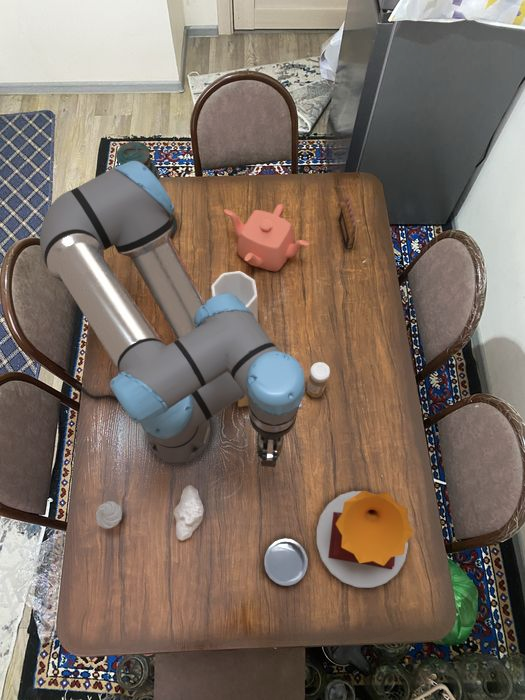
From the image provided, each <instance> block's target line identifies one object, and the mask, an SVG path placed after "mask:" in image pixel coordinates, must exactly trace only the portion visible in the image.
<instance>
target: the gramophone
mask: <svg viewBox="0 0 525 700" xmlns="http://www.w3.org/2000/svg"><path fill="white" fill-rule="evenodd" d="M413 534H414V530H413V529H412V527H411V525H410V522H409V521H408V507H406V506H404V505H402V504H399V503H398V502H396V501H395V500H394V498H393V496H392V495H391V493H390V492H389V491H387V492H381V493H376V494H375V493H372V492H370V491H367V490H366V489H363V490H361V491H360V490H352V491H349V492H346V493H342V494H340V495H338V496H337V497H335V498H334V499H332V500H331V501H330V502H329V503H328V504H327V505H326V506H325V507H324V509H323V511H322V512H321V513H320V515H319V518H318V521H317V524H316V528H315V546H316V548H317V549H316V550H317V552H318V555H319V558H320V560H321V562H322V563H323V565H324V566H325V568H326V569H327V571H328V572H329V574H331V575H332V576H333V577H335V578H336V579H337V580H338V581H339V582H341V583H344V584H346V585H349V586H352V587H354V588H361V589H362V588H364V589H365V588H366V589H367V588H369V589H370V588H371V589H372V588H375V587H378V586H382V585H384V584H387V583H388V582H389V581H390V580H392V579H393V578H394V577H395V576H396V575H398V573H399V572H400V570H401V569H402V567H403V565H404V563H405V562H406V558H407V554H408V550H409V543H408V542H409V539H410V538H411V536H412V535H413Z"/></svg>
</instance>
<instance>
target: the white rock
mask: <svg viewBox="0 0 525 700" xmlns="http://www.w3.org/2000/svg"><path fill="white" fill-rule="evenodd" d="M179 500H180V501H179V502H178V504H177V505H176V506H175V508H174V510H173V516H174V518H175V523H176V525H175V537H176V538H177V540H179V541H185V540H187V539H189V538H191V537H192V536H193V532H195V531H196V530H197V529H198V528H199V526H200V524H202V522H203V519H204V517H203V515H204V511H205V508H204V504H203V503H202V499H200V495H199V490H198V489H197V488H195V486H193V485H192V484H189V485H186V486H185V487H184V488H183V490H182V493H181V495H180V499H179Z"/></svg>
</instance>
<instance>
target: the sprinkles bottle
mask: <svg viewBox="0 0 525 700" xmlns="http://www.w3.org/2000/svg"><path fill="white" fill-rule="evenodd" d="M330 376H331V369H330V367H329V365H328V364H327V363H326V362H322V361H318V362H315V363H313V364H312V365H311V367H310V369H309V376H308V380H307V384H306V387H305V391H306V393H307V395H309V396H310V397H311V398H320V397H321V396H322V395H323V394H324V392H325V388H326V386H327V382H328V379H329V378H330Z"/></svg>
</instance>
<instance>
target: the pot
mask: <svg viewBox="0 0 525 700" xmlns="http://www.w3.org/2000/svg"><path fill="white" fill-rule="evenodd" d="M284 209H285V206H284V204H282V203H278V204H277V205H276V206H275V208H274V210H273V212H272V213H271V212H267V211H265V210H261V209H255V210H254V211H252V213H251V214H250V216H249V217H248V219H247V221H246V222H245V223H244V222H243V221H241V220H240V218H239V216H238V215H237V214H236V213H235V212H234V211H232V210H231V209H228V208H225V209H223V212H224V213H225V214H226V215H227V216H228V217H229V219H230V220H231V223H232V228H233V232H234V234H235V235H236V236H237V238H238V239H237V244H236V253H237V254H238V257H240V258H242V260H243V261H245V262H247V263H248V264H249V265H251V266H253V267H257V268H261V269H264V270H266V271H269V272H270V271H271V272H279V271H280V270H281V269H282V268H283V266H284V265H285V263H286V262H287V260H288V259H291V258H293V257H295V256H297V254H298V253H299V251H300V249H301V247H304V246H306V247H307V246H309V245H310V242H309V241H307V240H304V239H298V240H296V236H295V235H296V234H295V231H294V228H293V226H292V223H290V221H288V220H287V219H284V218H283V215H284Z"/></svg>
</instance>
